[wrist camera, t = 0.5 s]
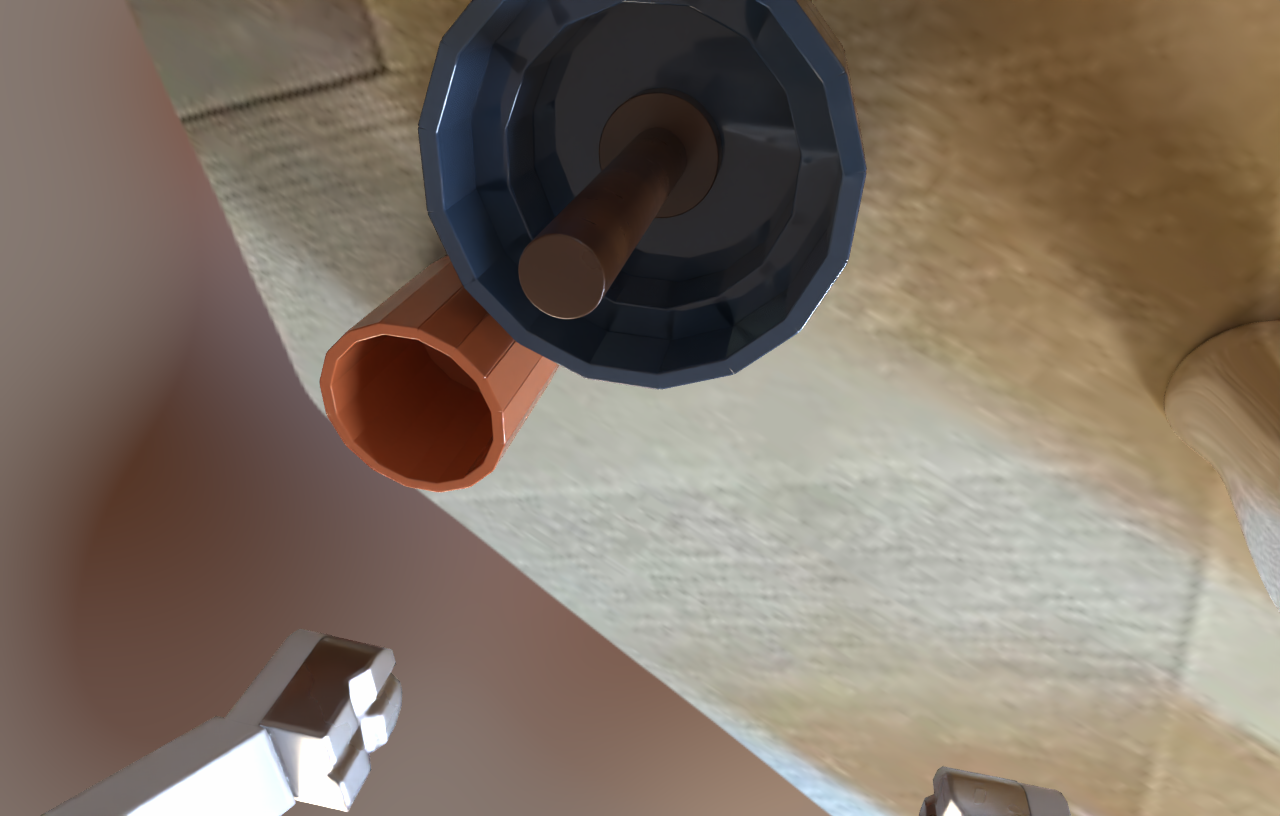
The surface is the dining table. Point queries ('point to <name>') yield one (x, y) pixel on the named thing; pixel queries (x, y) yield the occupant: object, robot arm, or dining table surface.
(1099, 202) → the dining table surface
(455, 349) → the crock
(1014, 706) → the dining table surface
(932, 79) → the dining table surface
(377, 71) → the dining table surface
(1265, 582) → the beer glass
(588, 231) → the plunger
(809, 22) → the bowl
